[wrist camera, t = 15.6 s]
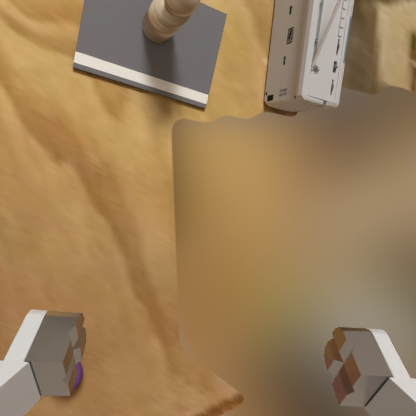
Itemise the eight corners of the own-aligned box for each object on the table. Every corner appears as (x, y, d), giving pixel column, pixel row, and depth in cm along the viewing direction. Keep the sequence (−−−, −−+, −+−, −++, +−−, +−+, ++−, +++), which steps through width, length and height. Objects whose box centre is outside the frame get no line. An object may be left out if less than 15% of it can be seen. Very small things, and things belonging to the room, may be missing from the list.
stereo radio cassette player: (293, 113, 67) (376, 105, 48) (257, 108, 63) (331, 97, 45) (308, -2, 63) (404, -57, 45) (270, -13, 60) (357, -77, 41)
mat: (72, 67, 51) (73, 66, 50) (92, -44, 49) (92, -46, 48) (204, 108, 59) (205, 108, 59) (225, 15, 57) (226, 14, 57)
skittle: (139, 36, 53) (163, 1, 39) (145, 3, 52) (172, -45, 38) (169, 48, 55) (202, 18, 41) (175, 16, 54) (211, -25, 40)
